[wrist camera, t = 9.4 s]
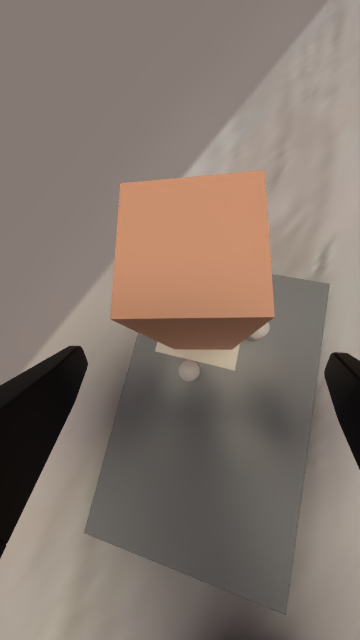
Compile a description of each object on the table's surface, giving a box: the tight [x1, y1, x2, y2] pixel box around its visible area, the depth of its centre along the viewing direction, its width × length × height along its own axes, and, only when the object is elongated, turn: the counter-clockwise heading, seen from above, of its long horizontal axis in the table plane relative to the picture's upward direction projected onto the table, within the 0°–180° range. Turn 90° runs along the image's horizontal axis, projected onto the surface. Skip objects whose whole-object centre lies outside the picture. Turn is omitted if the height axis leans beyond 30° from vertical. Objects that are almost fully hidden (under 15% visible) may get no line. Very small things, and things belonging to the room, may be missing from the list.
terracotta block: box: [110, 170, 275, 350], centre depth 12 cm, size 4×4×12 cm
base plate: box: [84, 274, 330, 615], centre depth 16 cm, size 22×14×4 cm, turn 166°
